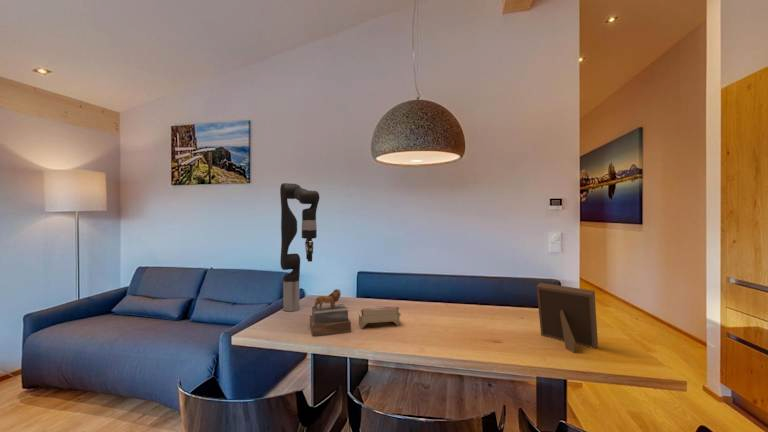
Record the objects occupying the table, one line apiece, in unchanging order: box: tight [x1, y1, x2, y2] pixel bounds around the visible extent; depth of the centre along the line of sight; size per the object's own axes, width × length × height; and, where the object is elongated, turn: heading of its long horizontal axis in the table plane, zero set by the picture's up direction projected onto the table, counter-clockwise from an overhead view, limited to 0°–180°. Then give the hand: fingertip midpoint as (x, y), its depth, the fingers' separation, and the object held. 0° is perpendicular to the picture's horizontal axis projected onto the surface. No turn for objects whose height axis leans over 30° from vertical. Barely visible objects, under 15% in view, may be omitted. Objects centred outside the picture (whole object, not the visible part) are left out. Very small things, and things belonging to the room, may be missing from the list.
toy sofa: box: [357, 306, 401, 330], centre depth 167 cm, size 21×9×10 cm, turn 103°
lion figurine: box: [311, 288, 341, 311], centre depth 161 cm, size 15×5×9 cm, turn 121°
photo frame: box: [536, 282, 599, 353], centre depth 141 cm, size 15×22×25 cm
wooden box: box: [309, 303, 352, 337], centre depth 161 cm, size 16×18×10 cm
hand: (309, 260), depth 167 cm, fingers open, 8 cm apart
